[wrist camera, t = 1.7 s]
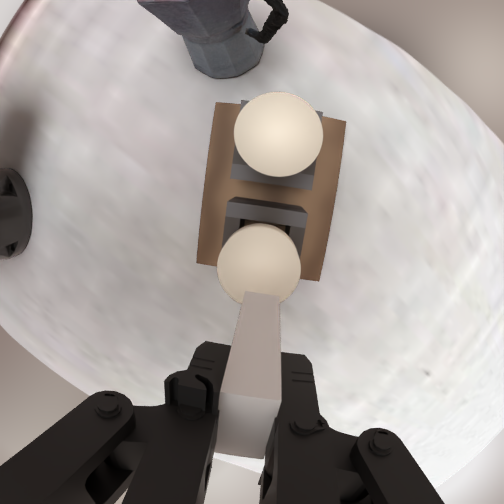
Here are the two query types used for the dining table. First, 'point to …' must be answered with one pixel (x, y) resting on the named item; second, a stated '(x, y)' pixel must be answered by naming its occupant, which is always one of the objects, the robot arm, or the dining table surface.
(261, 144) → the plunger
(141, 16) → the dining table surface
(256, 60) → the moka pot
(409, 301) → the dining table surface
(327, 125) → the mount
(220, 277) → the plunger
